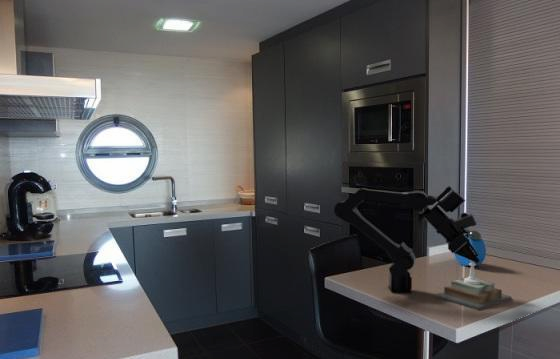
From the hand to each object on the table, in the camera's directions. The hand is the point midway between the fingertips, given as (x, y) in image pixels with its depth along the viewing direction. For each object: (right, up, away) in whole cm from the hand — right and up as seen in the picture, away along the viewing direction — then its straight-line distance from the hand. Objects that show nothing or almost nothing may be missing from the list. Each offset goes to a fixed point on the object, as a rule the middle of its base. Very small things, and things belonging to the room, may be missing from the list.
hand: (477, 258), depth 137 cm
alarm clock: (+16, -11, +43) cm, 47 cm away
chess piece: (-1, -8, +1) cm, 8 cm away
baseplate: (-1, -13, +1) cm, 13 cm away
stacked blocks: (-1, -13, +1) cm, 13 cm away
